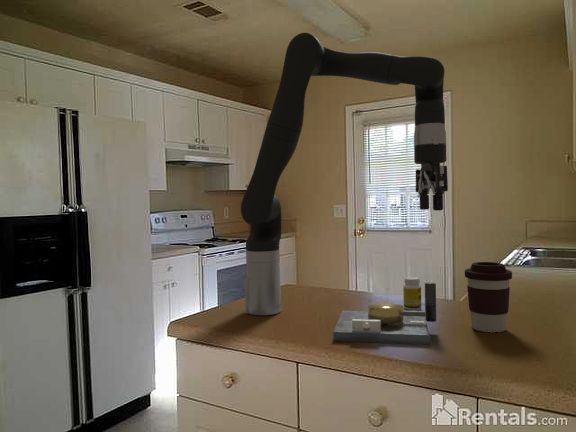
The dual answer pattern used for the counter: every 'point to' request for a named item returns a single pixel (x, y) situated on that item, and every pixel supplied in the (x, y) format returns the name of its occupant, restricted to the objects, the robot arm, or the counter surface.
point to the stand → (380, 329)
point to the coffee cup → (488, 295)
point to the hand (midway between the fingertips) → (431, 209)
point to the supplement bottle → (412, 293)
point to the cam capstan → (395, 312)
